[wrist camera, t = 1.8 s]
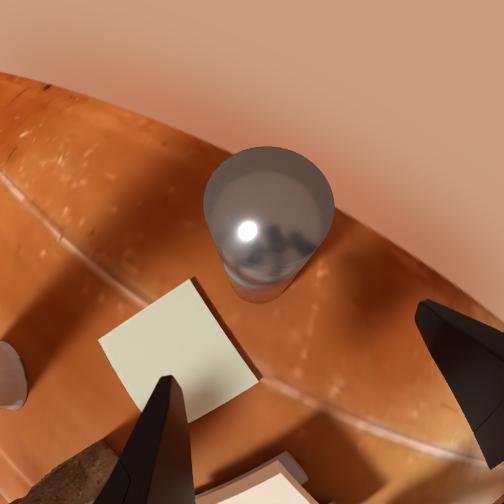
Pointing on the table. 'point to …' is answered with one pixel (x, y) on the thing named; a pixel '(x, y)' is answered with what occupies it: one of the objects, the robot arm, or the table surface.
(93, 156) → the table surface
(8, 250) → the table surface
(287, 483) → the slab on rollers
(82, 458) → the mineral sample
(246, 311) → the table surface
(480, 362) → the robot arm
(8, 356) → the container
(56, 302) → the table surface
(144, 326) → the mat
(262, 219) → the silver metal cylinder
